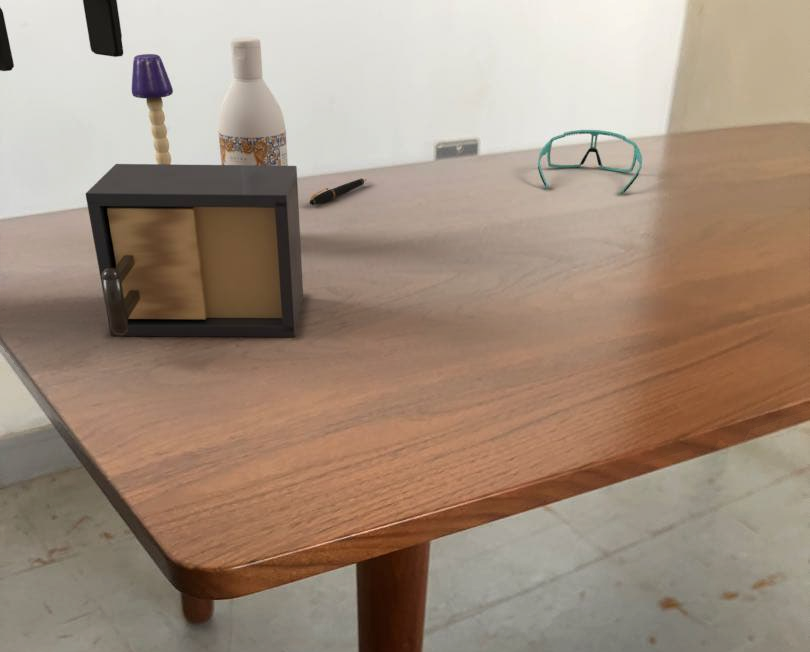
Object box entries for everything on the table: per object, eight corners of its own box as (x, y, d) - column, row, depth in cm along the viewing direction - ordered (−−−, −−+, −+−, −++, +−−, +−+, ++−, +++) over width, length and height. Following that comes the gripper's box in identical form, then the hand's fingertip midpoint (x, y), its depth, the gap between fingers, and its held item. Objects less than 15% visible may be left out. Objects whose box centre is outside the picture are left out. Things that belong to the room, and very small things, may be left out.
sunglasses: (640, 168, 132) (645, 132, 129) (636, 206, 121) (641, 168, 118) (542, 162, 135) (546, 126, 132) (530, 198, 124) (533, 160, 121)
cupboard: (110, 336, 80) (84, 193, 73) (136, 295, 88) (115, 163, 81) (294, 337, 80) (286, 195, 73) (303, 296, 88) (296, 165, 82)
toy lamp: (173, 213, 111) (153, 59, 101) (140, 209, 112) (118, 56, 103) (194, 203, 115) (177, 53, 105) (162, 199, 116) (142, 51, 106)
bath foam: (217, 247, 100) (195, 40, 89) (248, 229, 106) (231, 33, 94) (273, 255, 99) (259, 45, 87) (302, 237, 104) (292, 37, 92)
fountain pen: (364, 183, 124) (364, 171, 123) (371, 184, 124) (371, 172, 123) (305, 208, 114) (305, 195, 113) (313, 209, 113) (313, 196, 112)
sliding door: (106, 349, 74) (84, 231, 69) (127, 315, 80) (108, 205, 75) (192, 349, 74) (178, 232, 69) (207, 316, 80) (194, 206, 75)
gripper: (76, -220, 67) (115, 46, 76) (-164, -248, 55) (-82, 69, 65) (144, -226, 63) (177, 54, 73) (-97, -257, 51) (-20, 81, 61)
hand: (55, 61), depth 69 cm, fingers open, 9 cm apart
